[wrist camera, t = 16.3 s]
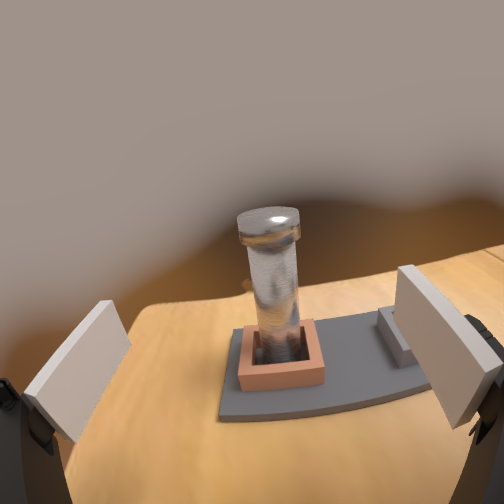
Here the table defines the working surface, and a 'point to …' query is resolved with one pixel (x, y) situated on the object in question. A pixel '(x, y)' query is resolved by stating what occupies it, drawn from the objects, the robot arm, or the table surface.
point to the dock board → (321, 370)
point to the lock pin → (274, 279)
